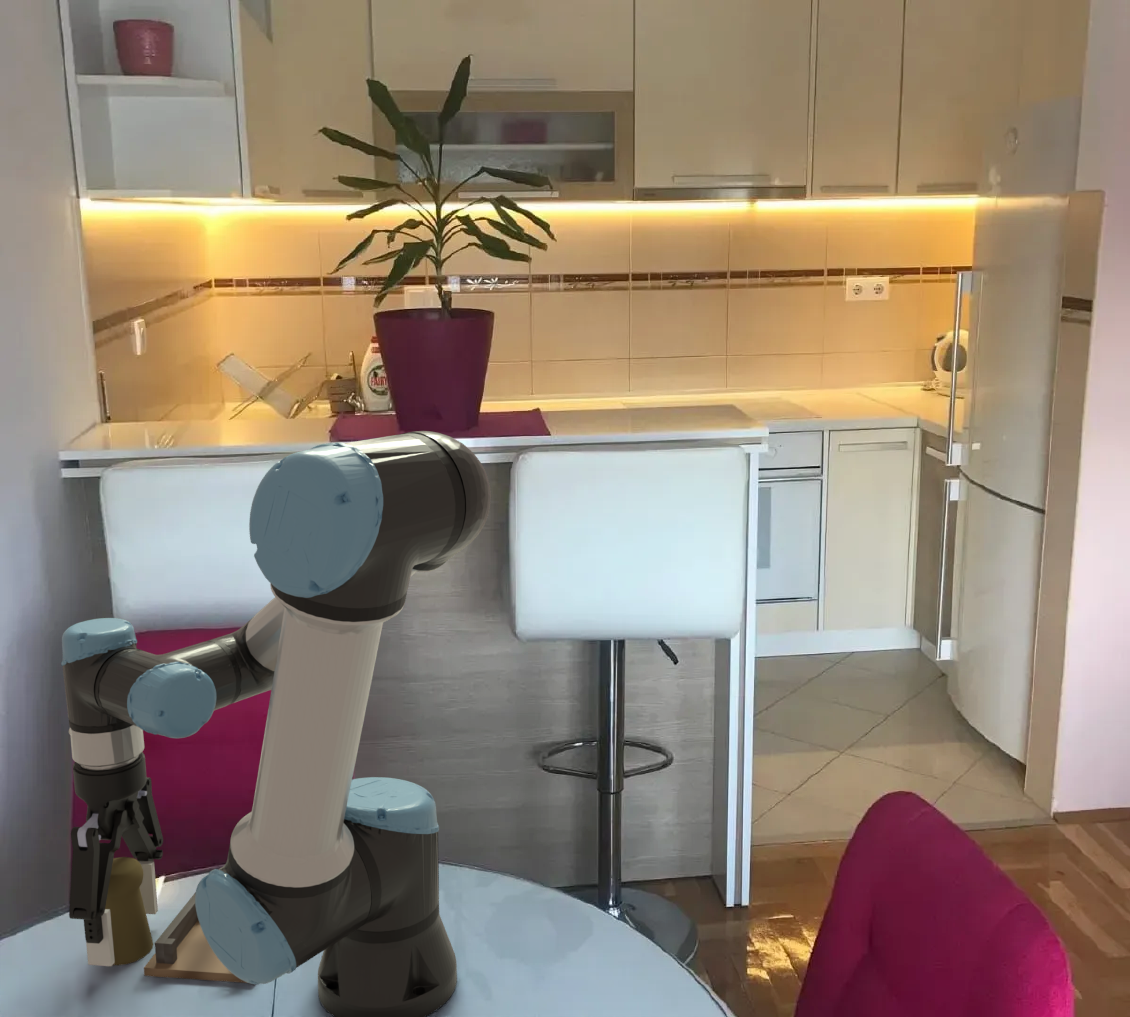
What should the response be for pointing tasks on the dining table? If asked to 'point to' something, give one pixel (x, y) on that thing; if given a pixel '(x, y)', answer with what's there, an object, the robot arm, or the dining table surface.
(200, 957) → the socket
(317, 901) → the robot arm
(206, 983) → the dining table surface
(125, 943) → the cork
